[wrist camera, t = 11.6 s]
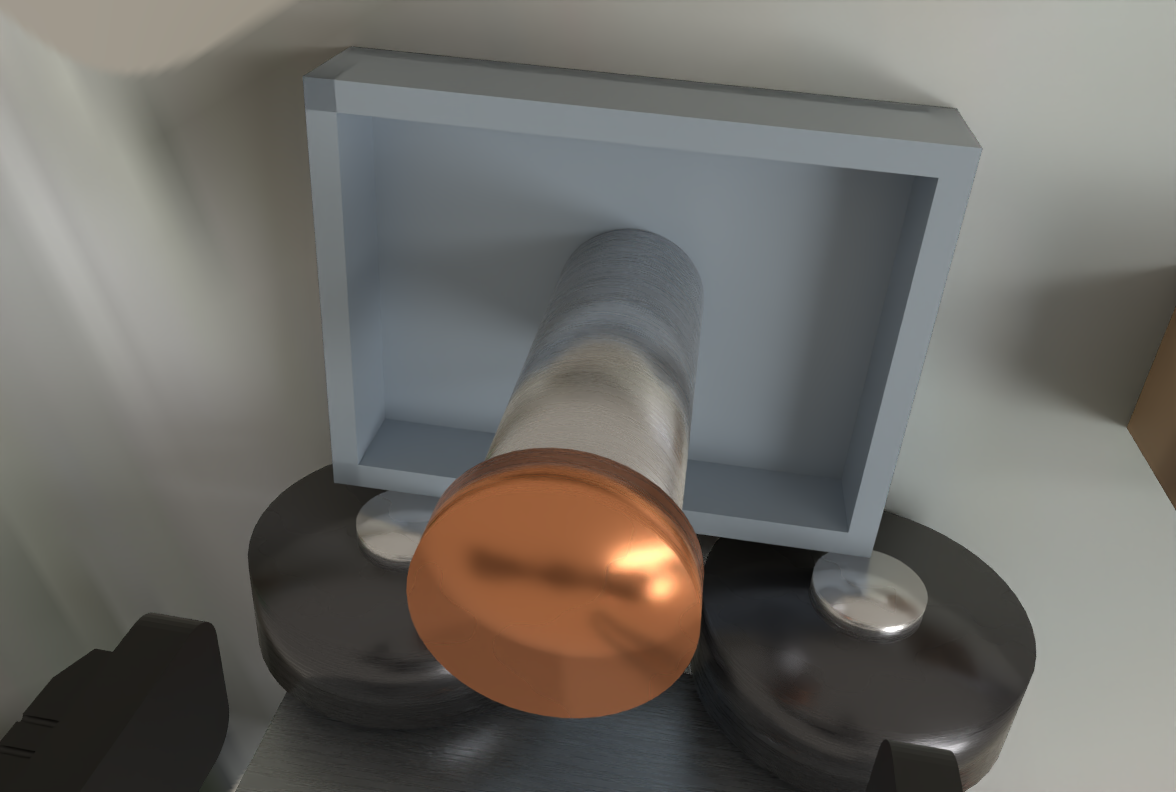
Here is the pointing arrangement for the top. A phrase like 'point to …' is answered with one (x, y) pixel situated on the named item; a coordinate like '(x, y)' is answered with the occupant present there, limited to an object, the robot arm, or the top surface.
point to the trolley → (667, 722)
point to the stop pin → (579, 501)
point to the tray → (647, 202)
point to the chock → (1159, 414)
